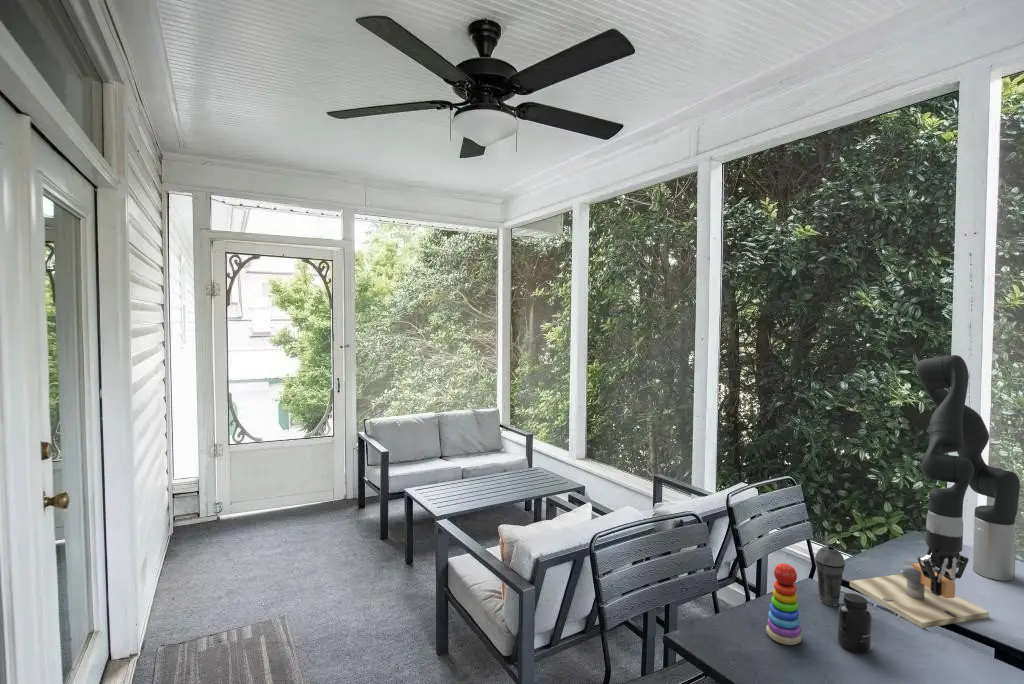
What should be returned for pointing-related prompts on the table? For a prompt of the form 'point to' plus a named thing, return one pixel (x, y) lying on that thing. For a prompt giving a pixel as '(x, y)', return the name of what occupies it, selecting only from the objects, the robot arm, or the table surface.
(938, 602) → the post board
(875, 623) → the table surface
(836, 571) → the beverage cup
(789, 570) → the stacking toy
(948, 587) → the orange lever handle
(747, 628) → the table surface
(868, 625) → the supplement bottle
